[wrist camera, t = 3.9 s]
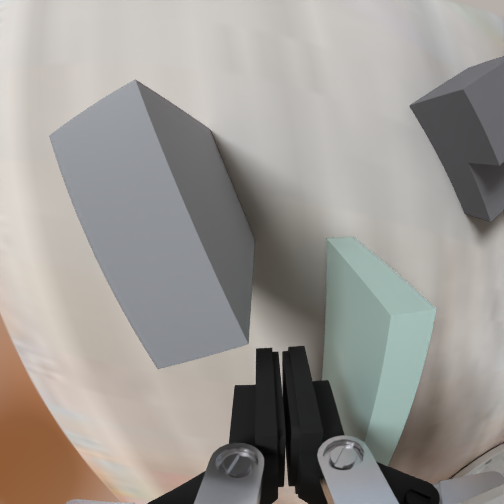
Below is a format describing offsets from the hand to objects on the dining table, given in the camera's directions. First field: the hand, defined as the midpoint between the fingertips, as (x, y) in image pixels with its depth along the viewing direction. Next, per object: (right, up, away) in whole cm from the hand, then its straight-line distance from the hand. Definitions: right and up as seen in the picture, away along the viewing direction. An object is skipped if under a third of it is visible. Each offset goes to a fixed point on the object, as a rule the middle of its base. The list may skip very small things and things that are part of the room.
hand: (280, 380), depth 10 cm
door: (+3, -2, +5) cm, 6 cm away
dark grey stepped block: (+10, +10, +1) cm, 14 cm away
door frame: (+1, -2, +5) cm, 6 cm away
